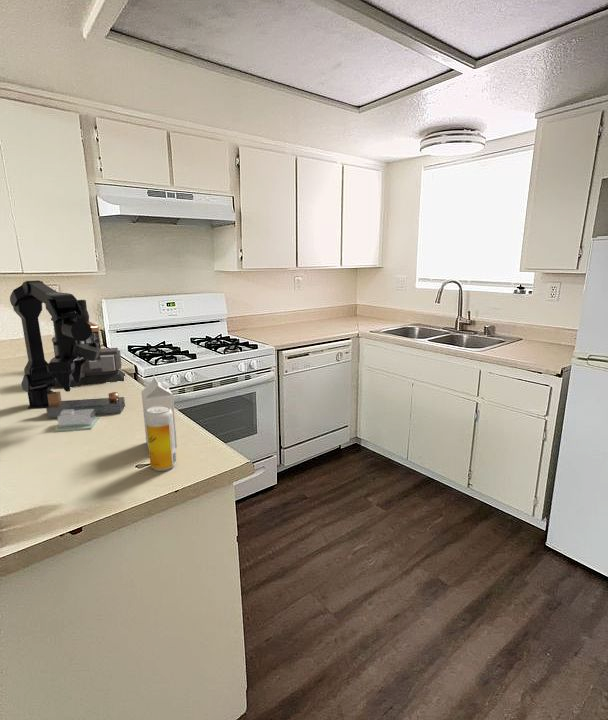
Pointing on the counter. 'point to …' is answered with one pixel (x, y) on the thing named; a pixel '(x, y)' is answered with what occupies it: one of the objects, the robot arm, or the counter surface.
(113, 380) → the juicer
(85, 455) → the counter surface
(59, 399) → the hand plane
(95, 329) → the whiskey bottle
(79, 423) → the lever cap
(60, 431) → the mat
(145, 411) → the milk carton
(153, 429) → the beer can
